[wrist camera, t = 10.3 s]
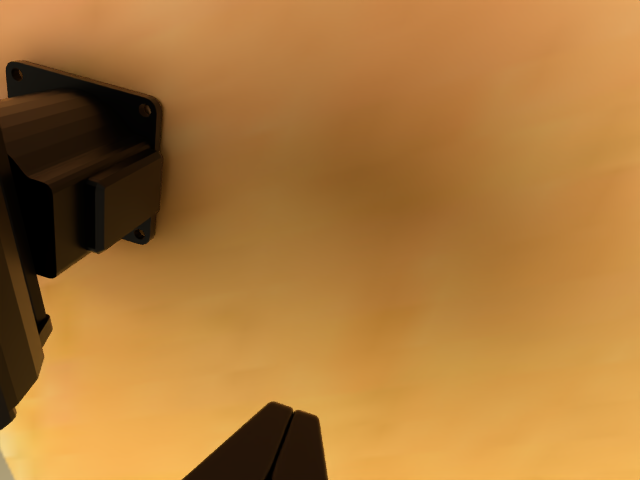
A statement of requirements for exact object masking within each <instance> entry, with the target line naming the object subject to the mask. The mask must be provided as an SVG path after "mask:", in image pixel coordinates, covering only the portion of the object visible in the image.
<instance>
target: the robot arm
mask: <svg viewBox="0 0 640 480" xmlns="http://www.w3.org/2000/svg"><path fill="white" fill-rule="evenodd" d="M19 70H20V71H21V72H22V75H23V79H22V77H21V76H20V74H19ZM6 80H7V91H8V98H7V99H2V100H0V430H2V429H3V428H4V427H6V426H7V425H8V424H9V423H11V422H12V421H13V419H14V418H15V417H16V413H17V412H16V409H15V406H16V405H17V404H18V403H19V402H20V401H21V400H22V398H23V397H24V396H25V394H26V393H27V392H28V391H29V389H30V388H31V387H32V385H33V384H34V383H35V382H36V380H37V379H38V376H39V373H40V370H41V366H42V363H43V360H44V353H43V349H42V347H43V346H44V344H45V342H46V340H47V339H48V337H49V335H50V333H51V332H52V329H53V328H52V323H51V319H50V316H49V315H48V314H46V313H45V309H44V304H43V300H42V296H41V292H40V288H39V284H38V279H37V275H41V276H44V277H47V278H55V277H56V276H58V275H59V274H60V273H62V272H63V271H65V270H66V269H68V268H69V267H70V266H72V265H73V264H75V263H76V262H77V261H79V260H80V259H82V258H83V257H85V256H86V255H87V254H89V253H90V252H93V253H97V254H99V253H102V252H103V251H105V250H106V249H108V248H109V247H111V246H112V245H113V244H115V243H116V242H117V241H119V240H120V239H124V240H127V241H131V242H134V243H137V244H142V245H143V244H147V243H148V242H149V241H150V240H151V239H152V238H153V237H154V234H155V220H156V213H157V212H159V210H160V197H161V182H162V166H163V157H162V155H161V153H160V137H161V120H162V108H161V105H160V103H159V102H158V100H157V99H156V98H154V97H152V96H149V95H145V94H142V93H138V92H135V91H131V90H127V89H124V88H120V87H117V86H113V85H109V84H106V83H102V82H99V81H95V80H91V79H88V78H84V77H81V76H77V75H74V74H70V73H66V72H63V71H59V70H56V69H52V68H48V67H45V66H41V65H38V64H34V63H30V62H27V61H20V60H19V61H12V62H10V63H8V65H7V66H6ZM145 104H146V105H148V106H149V108H150V110H151V114H150V115H149V114H147V113H146V111H145V109H144V106H145ZM139 229H140V230H142V231H143V232H144V234H145V236H144V235H142V234H141V233H140V232H139ZM36 274H37V275H36ZM182 480H328V476H327V469H326V462H325V455H324V449H323V442H322V435H321V428H320V422H319V419H318V417H317V416H315V415H313V414H310V413H307V412H304V411H301V410H296V411H295V412H294V413H293V409H292V408H291V407H289V406H286V405H283V404H280V403H277V402H270V403H268V404H267V405H266V406H264V407H263V408H262V409H261V410H260V411H259V412H258V413H257V414H255V415H254V416H253V417H252V418H251V419H250V420H249V421H247V422H246V423H245V424H244V425H243V426H242V427H241V428H240V429H238V430H237V431H236V432H235V433H234V434H233V435H232V436H231V437H229V438H228V439H227V440H226V441H225V442H224V443H223V444H222V445H220V446H219V447H218V448H217V449H216V450H215V451H214V452H213V453H211V454H210V455H209V456H208V457H207V458H206V459H205V460H204V461H202V462H201V463H200V464H199V465H198V466H197V467H196V468H194V469H193V470H192V471H191V472H190V473H189V474H188V475H187V476H185V477H184V478H183V479H182Z"/></svg>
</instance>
